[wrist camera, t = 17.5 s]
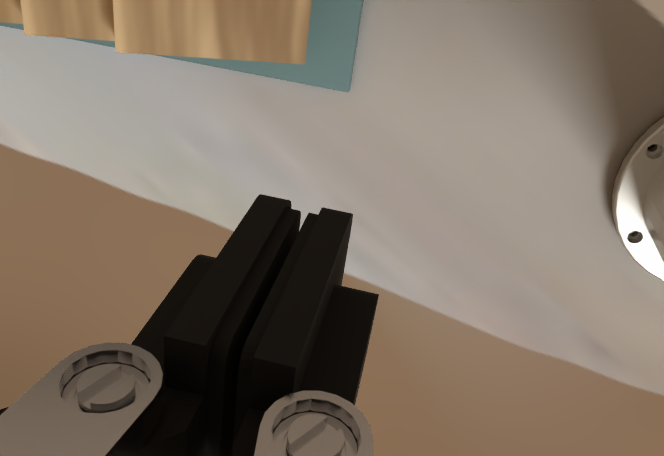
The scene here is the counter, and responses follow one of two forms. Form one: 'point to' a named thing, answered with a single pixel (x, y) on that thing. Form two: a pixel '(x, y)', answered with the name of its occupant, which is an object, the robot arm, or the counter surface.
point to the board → (321, 55)
